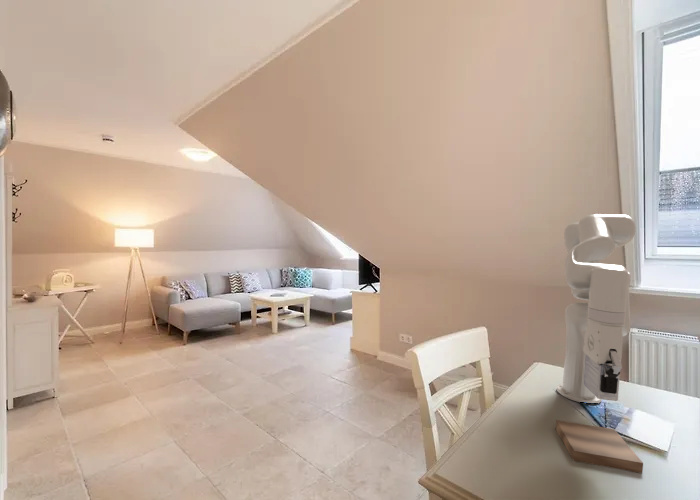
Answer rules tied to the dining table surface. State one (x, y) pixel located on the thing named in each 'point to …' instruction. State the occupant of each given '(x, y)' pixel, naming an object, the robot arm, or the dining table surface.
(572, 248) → the robot arm
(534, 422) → the dining table surface
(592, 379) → the medicine box
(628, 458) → the brown wooden block
